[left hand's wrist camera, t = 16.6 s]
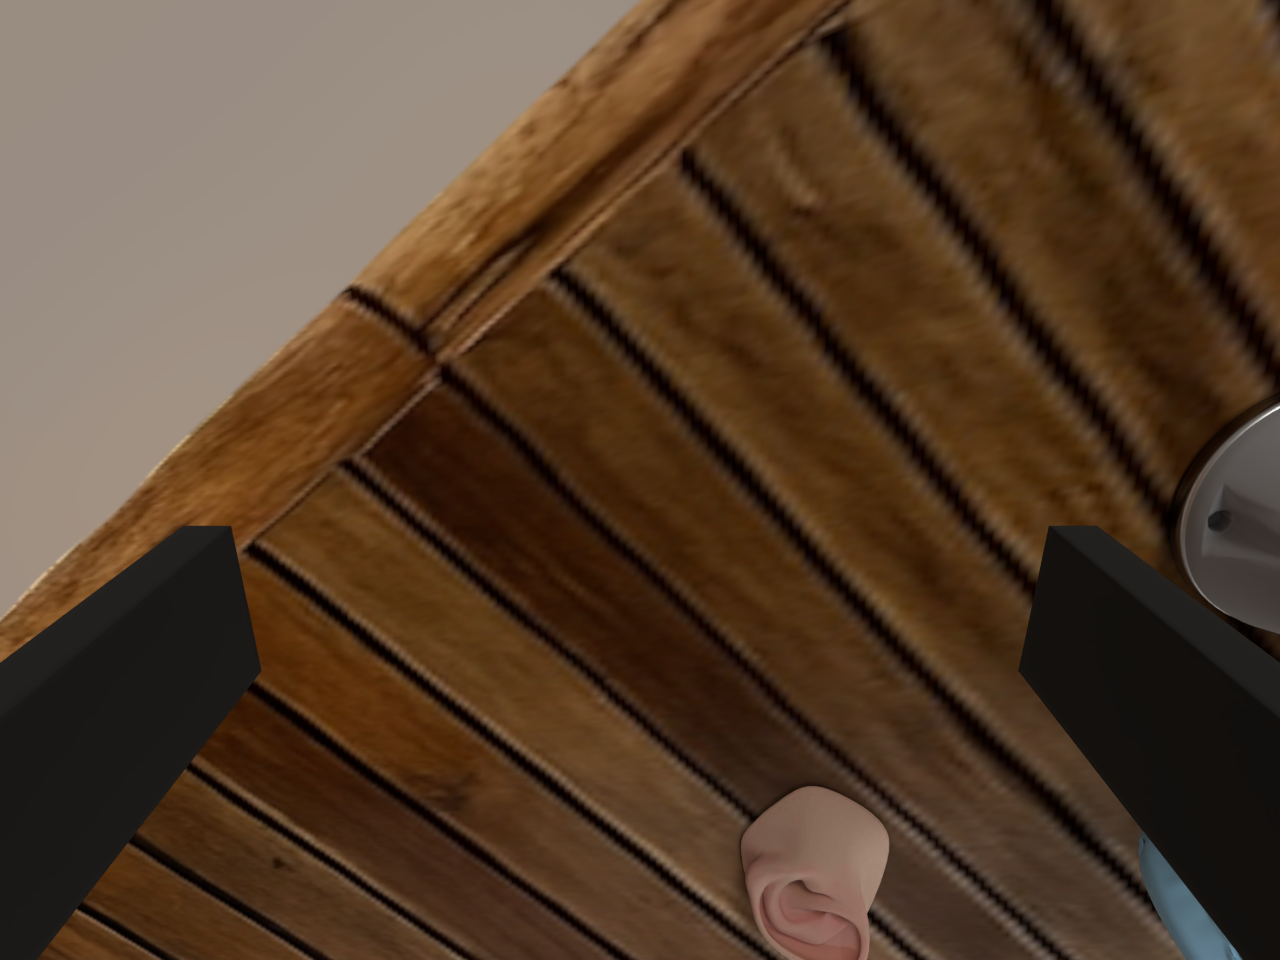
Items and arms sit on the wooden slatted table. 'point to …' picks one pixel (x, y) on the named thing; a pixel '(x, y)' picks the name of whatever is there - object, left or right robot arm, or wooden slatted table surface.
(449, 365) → the wooden slatted table surface
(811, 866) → the anatomical model
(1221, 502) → the left robot arm
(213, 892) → the wooden slatted table surface
